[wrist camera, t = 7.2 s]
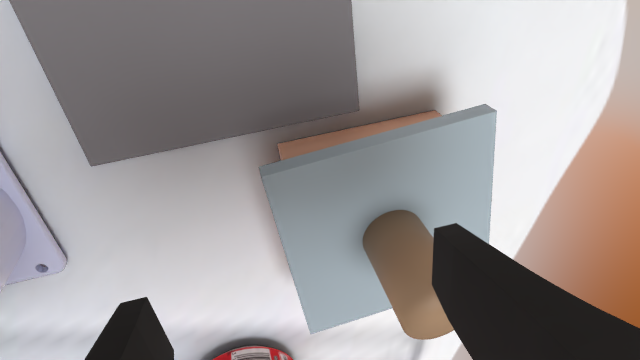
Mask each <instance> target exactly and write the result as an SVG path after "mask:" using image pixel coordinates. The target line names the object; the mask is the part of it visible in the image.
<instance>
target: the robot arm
mask: <svg viewBox="0 0 640 360" xmlns="http://www.w3.org/2000/svg"><path fill="white" fill-rule="evenodd" d="M39 264H44V265H46V266H47V267H43V266H40V265H39ZM66 264H67V259H66V257H65V256H64V254H63V252H62V251H61V249H60V248H59V246H58V244H57V243H56V241H55V239H54V238H53V236H52V235H51V233H50V231H49V230H48V228H47V226H46V225H45V223H44V222H43V220H42V218H41V217H40V215H39V214H38V212H37V210H36V209H35V207H34V205H33V204H32V202H31V201H30V199H29V197H28V196H27V194H26V192H25V191H24V189H23V188H22V186H21V184H20V183H19V181H18V180H17V178H16V176H15V175H14V173H13V171H12V170H11V168H10V167H9V165H8V163H7V162H6V160H5V159H4V157H3V155H2V154H1V152H0V292H1V290H2V288H3V287H4V285H8V284H12V283H17V282H21V281H25V280H29V279H33V278H38V277H42V276H46V275H50V274H54V273H58V272H61V271H63V270H64V269H65V266H66ZM432 286H433V289H434V291H435V293H436V295H437V297H438V299H439V302H440V304H441V306H442V308H443V310H444V312H445V314H446V316H447V318H448V320H449V322H450V324H451V325H452V327H453V328H454V330H455V332H456V333H457V335H458V337H459V338H460V340H461V341H462V343H463V345H464V346H465V348H466V349H467V351H468V353H469V354H470V356H471V357H472V359H473V360H640V328H638V327H635V326H633V325H631V324H629V323H627V322H625V321H623V320H621V319H619V318H617V317H615V316H612V315H611V314H608V313H606V312H604V311H602V310H600V309H598V308H596V307H594V306H592V305H591V304H588V303H587V302H585V301H583V300H581V299H579V298H577V297H576V296H573V295H572V294H570V293H568V292H566V291H565V290H563V289H561V288H559V287H558V286H555V285H554V284H552V283H551V282H549V281H547V280H545V279H544V278H542V277H540V276H539V275H537V274H535V273H534V272H532V271H530V270H529V269H527V268H525V267H524V266H522V265H520V264H519V263H517V262H516V261H514V260H513V259H511V258H509V257H508V256H506V255H505V254H503V253H502V252H500V251H499V250H497V249H496V248H494V247H492V246H491V245H489V244H488V243H486V242H485V241H483V240H482V239H480V238H479V237H477V236H476V235H474V234H473V233H471V232H470V231H468V230H467V229H465V228H463V227H462V226H460V225H459V224H457V223H454V224H450V225H446V226H441V227H437V228H434V239H433V263H432ZM85 360H174V350H173V348H172V346H171V344H170V342H169V340H168V338H167V336H166V334H165V332H164V330H163V328H162V326H161V324H160V322H159V320H158V318H157V316H156V314H155V312H154V310H153V308H152V306H151V304H150V302H149V300H148V298H147V297H144V298H140V299H136V300H132V301H128V302H124V303H120V305H119V306H118V308H117V309H116V311H115V312H114V314H113V315H112V317H111V318H110V320H109V321H108V323H107V325H106V326H105V328H104V329H103V331H102V333H101V334H100V336H99V337H98V339H97V341H96V342H95V344H94V345H93V347H92V349H91V350H90V352H89V353H88V355H87V356H86V358H85Z"/></svg>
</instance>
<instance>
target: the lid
mask: <svg viewBox="0 0 640 360" xmlns="http://www.w3.org/2000/svg"><path fill="white" fill-rule="evenodd" d="M496 115H497V111H496V110H494V109H493V108H491V107H489V106H488V105H486V104H483V105H479V106H476V107H472V108H469V109H465V110H461V111H458V112H454V113H451V114H447V115H443V116H440V117H436V118H433V119H429V120H426V121H422V122H418V123H415V124H411V125H408V126H404V127H400V128H397V129H393V130H390V131H386V132H382V133H379V134H375V135H372V136H368V137H364V138H361V139H357V140H354V141H350V142H346V143H343V144H339V145H336V146H332V147H328V148H325V149H321V150H318V151H314V152H310V153H307V154H303V155H300V156H296V157H292V158H289V159H285V160H282V161H278V162H275V163H271V164H267V165H264V166H260V167H259V169H260V174H261V178H262V181H263V185H264V188H265V191H266V194H267V197H268V201H269V204H270V207H271V210H272V213H273V216H274V220H275V223H276V226H277V229H278V232H279V235H280V239H281V242H282V245H283V248H284V251H285V254H286V258H287V261H288V264H289V267H290V270H291V274H292V277H293V280H294V283H295V286H296V289H297V293H298V296H299V299H300V302H301V305H302V308H303V312H304V315H305V318H306V321H307V324H308V328H309V331H310V334H313V333H317V332H320V331H323V330H326V329H329V328H332V327H335V326H338V325H342V324H345V323H348V322H351V321H354V320H357V319H360V318H363V317H366V316H370V315H373V314H376V313H379V312H382V311H385V310H388V309H391V308H393V310H394V312H395V314H396V316H397V318H398V320H399V322H400V324H401V326H402V328H403V330H404V332H405V333H406V334H407V335H408V336H410V337H412V338H415V339H422V340H424V339H433V338H437V337H440V336H443V335H445V334H448V333H450V332H451V331H453V330H454V328H453V327H452V325H451V324H450V322H449V320H448V318H447V316H446V314H445V312H444V310H443V308H442V306H441V304H440V302H439V299H438V297H437V295H436V293H435V291H434V289H433V286H432V263H433V239H434V228H437V227H441V226H446V225H450V224H454V223H457V224H459V225H460V226H462V227H463V228H465V229H467V230H468V231H470V232H471V233H473V234H474V235H476V236H477V237H479V238H480V239H482V240H483V241H485V242H486V243H488V244H489V233H490V216H491V199H492V182H493V166H494V149H495V132H496Z"/></svg>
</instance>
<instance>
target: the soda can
mask: <svg viewBox="0 0 640 360" xmlns="http://www.w3.org/2000/svg"><path fill="white" fill-rule="evenodd" d="M212 360H293V359H292V358H291V357H290V356H289V355H288V354H286V353H284V352H283V351H280V350H277V349H274V348H270V347H263V346H243V347H238V348H235V349H232V350H230V351H227V352H225V353H224V354H221V355H219V356H218V357H216V358H214V359H212Z"/></svg>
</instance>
